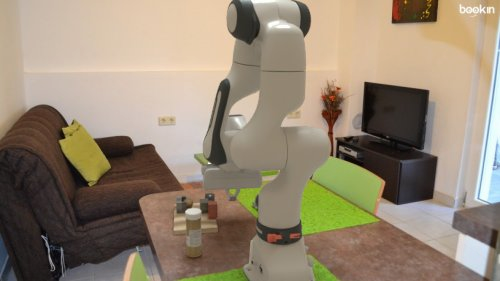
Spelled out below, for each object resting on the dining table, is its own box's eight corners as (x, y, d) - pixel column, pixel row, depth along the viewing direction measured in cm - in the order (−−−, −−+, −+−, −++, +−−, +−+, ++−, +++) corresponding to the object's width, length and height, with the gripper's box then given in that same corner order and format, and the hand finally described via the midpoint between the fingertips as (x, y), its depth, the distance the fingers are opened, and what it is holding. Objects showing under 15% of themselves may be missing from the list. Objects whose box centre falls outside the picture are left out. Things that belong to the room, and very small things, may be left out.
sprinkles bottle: (186, 250, 117) (185, 207, 114) (202, 250, 117) (201, 207, 114) (185, 258, 113) (184, 214, 109) (202, 258, 113) (201, 213, 110)
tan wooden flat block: (221, 231, 129) (221, 216, 128) (173, 235, 126) (173, 219, 125) (215, 204, 151) (215, 191, 150) (174, 206, 149) (174, 193, 147)
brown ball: (193, 209, 141) (193, 200, 140) (183, 210, 141) (182, 200, 140) (193, 205, 145) (192, 196, 144) (182, 206, 144) (182, 197, 143)
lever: (218, 218, 135) (218, 204, 134) (201, 219, 134) (200, 205, 133) (214, 200, 150) (214, 187, 149) (198, 201, 149) (198, 188, 148)
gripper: (201, 165, 128) (202, 205, 132) (264, 163, 132) (263, 202, 135) (200, 160, 134) (201, 198, 138) (260, 158, 138) (259, 195, 141)
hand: (232, 200), depth 136 cm, fingers closed
